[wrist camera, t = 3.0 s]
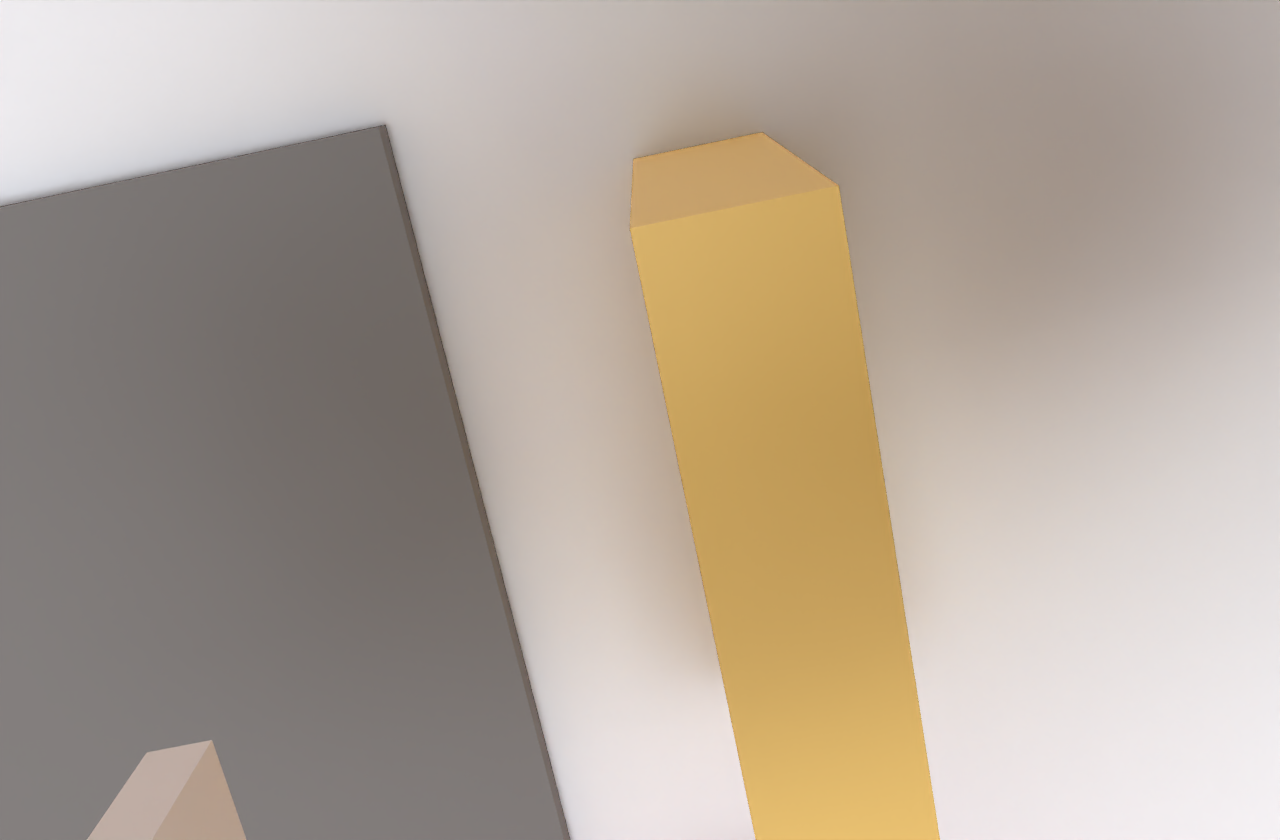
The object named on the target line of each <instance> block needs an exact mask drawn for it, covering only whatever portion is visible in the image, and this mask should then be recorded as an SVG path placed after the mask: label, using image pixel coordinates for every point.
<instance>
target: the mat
mask: <svg viewBox="0 0 1280 840" xmlns="http://www.w3.org/2000/svg"><path fill="white" fill-rule="evenodd" d="M209 740H212V742H213V744H214V747H215V750H216V753H217V756H218V759H219V762H220V765H221V768H222V770H223V773H224V776H225V779H226V782H227V785H228V788H229V791H230V794H231V797H232V799H233V802H234V805H235V808H236V811H237V814H238V817H239V820H240V823H241V825H242V828H243V831H244V834H245V837H246V840H570V837H569V833H568V829H567V826H566V822H565V818H564V814H563V810H562V806H561V802H560V799H559V795H558V791H557V787H556V783H555V779H554V775H553V771H552V768H551V764H550V760H549V756H548V752H547V748H546V744H545V741H544V737H543V733H542V729H541V725H540V721H539V717H538V713H537V710H536V706H535V702H534V698H533V694H532V690H531V686H530V683H529V679H528V675H527V671H526V667H525V663H524V659H523V656H522V652H521V648H520V644H519V640H518V636H517V632H516V628H515V625H514V621H513V617H512V613H511V609H510V605H509V601H508V598H507V594H506V590H505V586H504V582H503V578H502V574H501V570H500V567H499V563H498V559H497V555H496V551H495V547H494V543H493V540H492V536H491V532H490V528H489V524H488V520H487V516H486V512H485V509H484V505H483V501H482V497H481V493H480V489H479V485H478V482H477V478H476V474H475V470H474V466H473V462H472V458H471V454H470V451H469V447H468V443H467V439H466V435H465V431H464V427H463V424H462V420H461V416H460V412H459V408H458V404H457V400H456V396H455V393H454V389H453V385H452V381H451V377H450V373H449V369H448V366H447V362H446V358H445V354H444V350H443V346H442V342H441V339H440V335H439V331H438V327H437V323H436V319H435V315H434V311H433V308H432V304H431V300H430V296H429V292H428V288H427V284H426V281H425V277H424V273H423V269H422V265H421V261H420V257H419V253H418V250H417V246H416V242H415V238H414V234H413V230H412V226H411V223H410V219H409V215H408V211H407V207H406V203H405V199H404V195H403V192H402V188H401V184H400V180H399V176H398V172H397V168H396V165H395V161H394V157H393V153H392V149H391V145H390V141H389V137H388V134H387V130H386V126H385V125H383V126H378V127H374V128H369V129H364V130H359V131H355V132H350V133H345V134H341V135H336V136H331V137H326V138H322V139H317V140H312V141H308V142H303V143H298V144H293V145H289V146H284V147H279V148H275V149H270V150H265V151H261V152H256V153H251V154H246V155H242V156H237V157H232V158H228V159H223V160H218V161H213V162H209V163H204V164H199V165H195V166H190V167H185V168H181V169H176V170H171V171H166V172H162V173H157V174H152V175H148V176H143V177H138V178H133V179H129V180H124V181H119V182H115V183H110V184H105V185H101V186H96V187H91V188H86V189H82V190H77V191H72V192H68V193H63V194H58V195H53V196H49V197H44V198H39V199H35V200H30V201H25V202H20V203H16V204H11V205H6V206H2V207H0V840H87V839H88V837H89V836H90V834H91V833H92V831H93V830H94V829H95V827H96V826H97V824H98V823H99V821H100V820H101V818H102V817H103V815H104V814H105V813H106V811H107V810H108V808H109V807H110V805H111V804H112V802H113V801H114V799H115V798H116V796H117V795H118V794H119V792H120V791H121V789H122V788H123V786H124V785H125V783H126V782H127V780H128V779H129V778H130V776H131V775H132V773H133V772H134V770H135V769H136V767H137V766H138V764H139V763H140V761H141V760H142V759H143V757H144V756H145V754H146V753H147V752H152V751H157V750H162V749H167V748H173V747H178V746H183V745H188V744H194V743H199V742H204V741H209Z"/></svg>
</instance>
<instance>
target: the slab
mask: <svg viewBox="0 0 1280 840" xmlns="http://www.w3.org/2000/svg"><path fill="white" fill-rule="evenodd" d="M630 232H631V237H632V242H633V247H634V252H635V257H636V261H637V266H638V271H639V276H640V281H641V286H642V290H643V295H644V300H645V305H646V310H647V315H648V320H649V324H650V329H651V334H652V339H653V344H654V349H655V354H656V358H657V363H658V368H659V373H660V378H661V383H662V387H663V392H664V397H665V402H666V407H667V412H668V417H669V421H670V426H671V431H672V436H673V441H674V446H675V450H676V455H677V460H678V465H679V470H680V475H681V480H682V484H683V489H684V494H685V499H686V504H687V509H688V513H689V518H690V523H691V528H692V533H693V538H694V543H695V547H696V552H697V557H698V562H699V567H700V572H701V576H702V581H703V586H704V591H705V596H706V601H707V606H708V610H709V615H710V620H711V625H712V630H713V635H714V639H715V644H716V649H717V654H718V659H719V664H720V669H721V673H722V678H723V683H724V688H725V693H726V698H727V702H728V707H729V712H730V717H731V722H732V727H733V732H734V736H735V741H736V746H737V751H738V756H739V761H740V765H741V770H742V775H743V780H744V785H745V790H746V795H747V799H748V804H749V809H750V814H751V819H752V824H753V829H754V833H755V838H756V840H940V837H939V831H938V824H937V818H936V811H935V805H934V798H933V792H932V786H931V779H930V773H929V766H928V760H927V753H926V747H925V740H924V734H923V727H922V721H921V714H920V708H919V701H918V695H917V688H916V682H915V675H914V669H913V663H912V656H911V650H910V643H909V637H908V630H907V624H906V617H905V611H904V604H903V598H902V591H901V585H900V578H899V572H898V565H897V559H896V552H895V546H894V539H893V533H892V527H891V520H890V514H889V507H888V501H887V494H886V488H885V481H884V475H883V468H882V462H881V455H880V449H879V442H878V436H877V429H876V423H875V416H874V410H873V404H872V397H871V391H870V384H869V378H868V371H867V365H866V358H865V352H864V345H863V339H862V332H861V326H860V319H859V313H858V306H857V300H856V293H855V287H854V280H853V274H852V268H851V261H850V255H849V248H848V242H847V235H846V229H845V222H844V216H843V209H842V203H841V196H840V190H839V185H837V184H836V183H834V182H833V181H832V180H830V179H829V178H827V177H826V176H824V175H823V174H821V173H820V172H819V171H817V170H816V169H814V168H813V167H811V166H810V165H809V164H807V163H806V162H804V161H803V160H801V159H800V158H799V157H797V156H796V155H794V154H793V153H791V152H790V151H788V150H787V149H786V148H784V147H783V146H781V145H780V144H778V143H777V142H776V141H774V140H773V139H771V138H770V137H768V136H767V135H766V134H764V133H763V132H760V133H755V134H750V135H746V136H741V137H736V138H731V139H726V140H722V141H717V142H712V143H707V144H702V145H698V146H693V147H688V148H683V149H678V150H674V151H669V152H664V153H659V154H654V155H650V156H645V157H640V158H635V159H633V175H632V194H631V213H630Z"/></svg>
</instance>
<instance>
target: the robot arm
mask: <svg viewBox="0 0 1280 840" xmlns="http://www.w3.org/2000/svg"><path fill="white" fill-rule="evenodd" d="M87 840H246V837H245V834H244V831H243V828H242V825H241V823H240V820H239V817H238V814H237V811H236V808H235V805H234V802H233V799H232V797H231V794H230V791H229V788H228V785H227V782H226V779H225V776H224V773H223V770H222V768H221V765H220V762H219V759H218V756H217V753H216V750H215V747H214V744H213V742H212V740H209V741H204V742H199V743H194V744H188V745H183V746H178V747H173V748H167V749H162V750H157V751H152V752H147V753H146V754H145V756H144V757H143V759H142V760H141V761H140V763H139V764H138V766H137V767H136V769H135V770H134V772H133V773H132V775H131V776H130V778H129V779H128V780H127V782H126V783H125V785H124V786H123V788H122V789H121V791H120V792H119V794H118V795H117V796H116V798H115V799H114V801H113V802H112V804H111V805H110V807H109V808H108V810H107V811H106V813H105V814H104V815H103V817H102V818H101V820H100V821H99V823H98V824H97V826H96V827H95V829H94V830H93V831H92V833H91V834H90V836H89V837H88V839H87Z"/></svg>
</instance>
